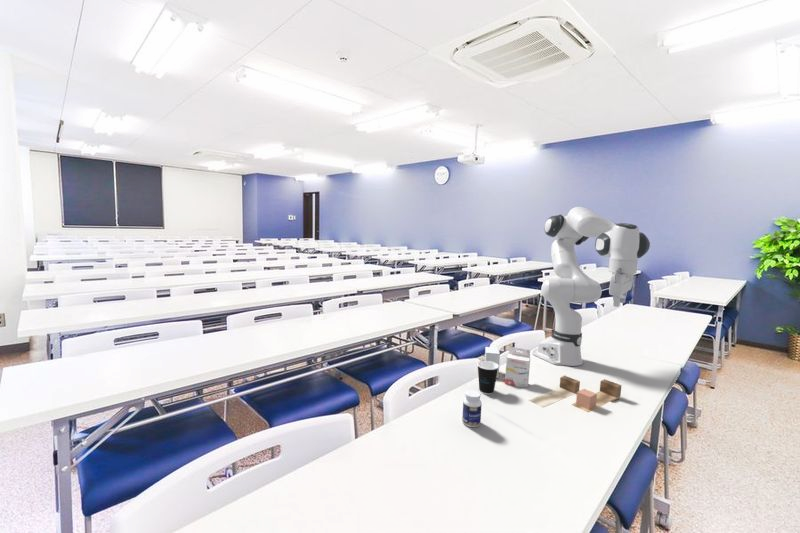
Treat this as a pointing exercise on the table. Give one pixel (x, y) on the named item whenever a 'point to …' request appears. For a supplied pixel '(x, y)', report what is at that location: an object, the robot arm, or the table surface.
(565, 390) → the pale ash strip
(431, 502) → the table surface
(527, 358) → the ink cartridge box
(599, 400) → the oak strip
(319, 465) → the table surface
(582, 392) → the terracotta cube
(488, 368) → the dixie cup
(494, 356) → the small box
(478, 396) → the pill bottle
